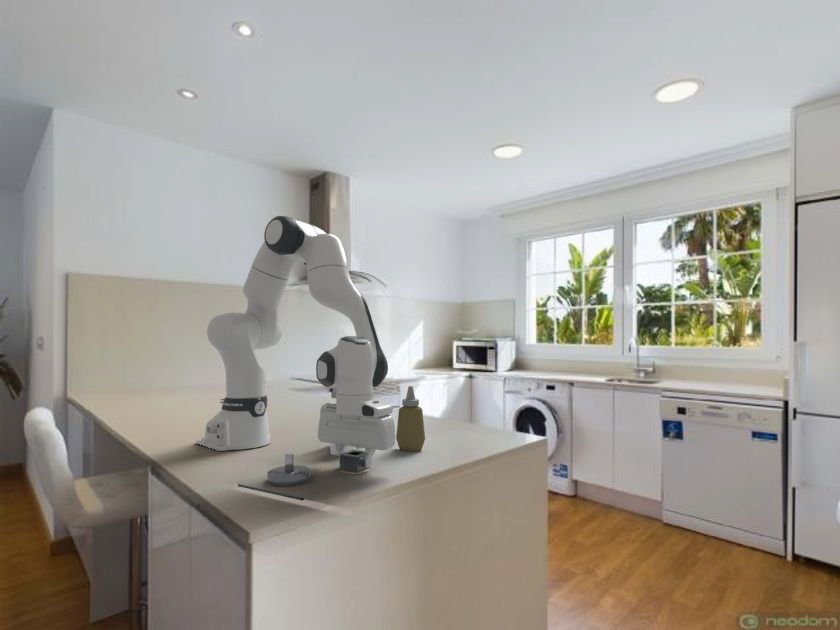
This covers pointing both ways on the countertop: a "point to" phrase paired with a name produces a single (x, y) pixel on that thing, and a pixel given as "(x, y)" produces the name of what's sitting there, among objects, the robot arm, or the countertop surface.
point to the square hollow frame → (352, 461)
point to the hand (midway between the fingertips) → (355, 464)
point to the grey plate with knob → (286, 476)
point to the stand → (356, 473)
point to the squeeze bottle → (410, 424)
